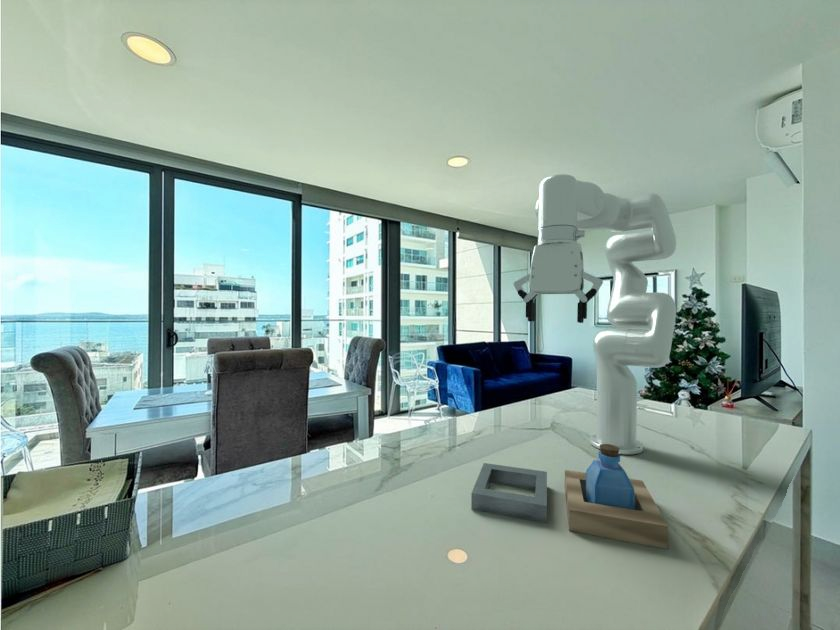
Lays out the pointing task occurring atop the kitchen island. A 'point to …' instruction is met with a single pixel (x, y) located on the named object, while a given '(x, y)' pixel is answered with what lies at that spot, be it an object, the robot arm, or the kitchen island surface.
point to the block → (508, 501)
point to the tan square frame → (615, 515)
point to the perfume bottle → (609, 480)
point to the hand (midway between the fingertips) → (555, 322)
